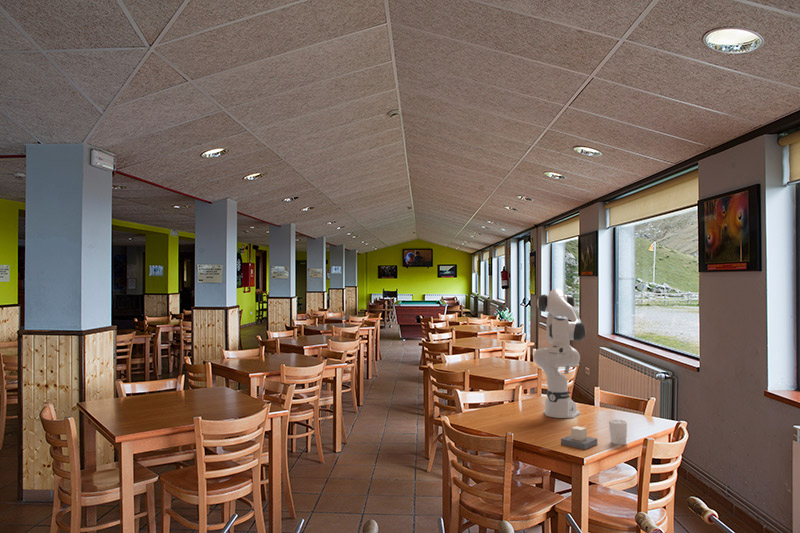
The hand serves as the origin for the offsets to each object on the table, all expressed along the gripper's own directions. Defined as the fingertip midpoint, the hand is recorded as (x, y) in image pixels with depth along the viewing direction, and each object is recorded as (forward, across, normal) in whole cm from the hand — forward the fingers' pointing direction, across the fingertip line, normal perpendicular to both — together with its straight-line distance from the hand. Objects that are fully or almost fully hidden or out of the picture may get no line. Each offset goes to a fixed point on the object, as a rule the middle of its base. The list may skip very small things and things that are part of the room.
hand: (561, 374), depth 265 cm
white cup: (+29, -1, +28) cm, 40 cm away
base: (+29, +14, +16) cm, 36 cm away
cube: (+26, +14, +16) cm, 34 cm away
